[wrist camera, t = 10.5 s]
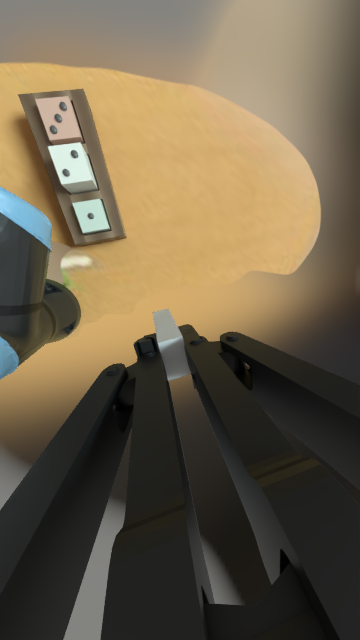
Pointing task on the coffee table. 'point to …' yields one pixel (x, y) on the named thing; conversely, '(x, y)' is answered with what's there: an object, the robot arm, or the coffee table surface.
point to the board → (96, 160)
